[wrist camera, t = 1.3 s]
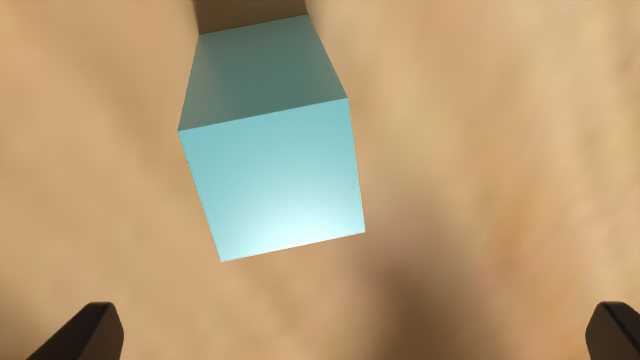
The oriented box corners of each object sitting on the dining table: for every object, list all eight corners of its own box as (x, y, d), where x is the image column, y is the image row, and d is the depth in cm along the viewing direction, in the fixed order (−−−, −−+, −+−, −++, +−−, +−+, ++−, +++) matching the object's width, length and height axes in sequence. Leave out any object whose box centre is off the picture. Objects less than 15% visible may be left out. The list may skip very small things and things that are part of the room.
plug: (226, 132, 21) (221, 261, 14) (199, 34, 19) (177, 131, 12) (323, 113, 21) (365, 231, 14) (307, 13, 19) (347, 97, 12)
